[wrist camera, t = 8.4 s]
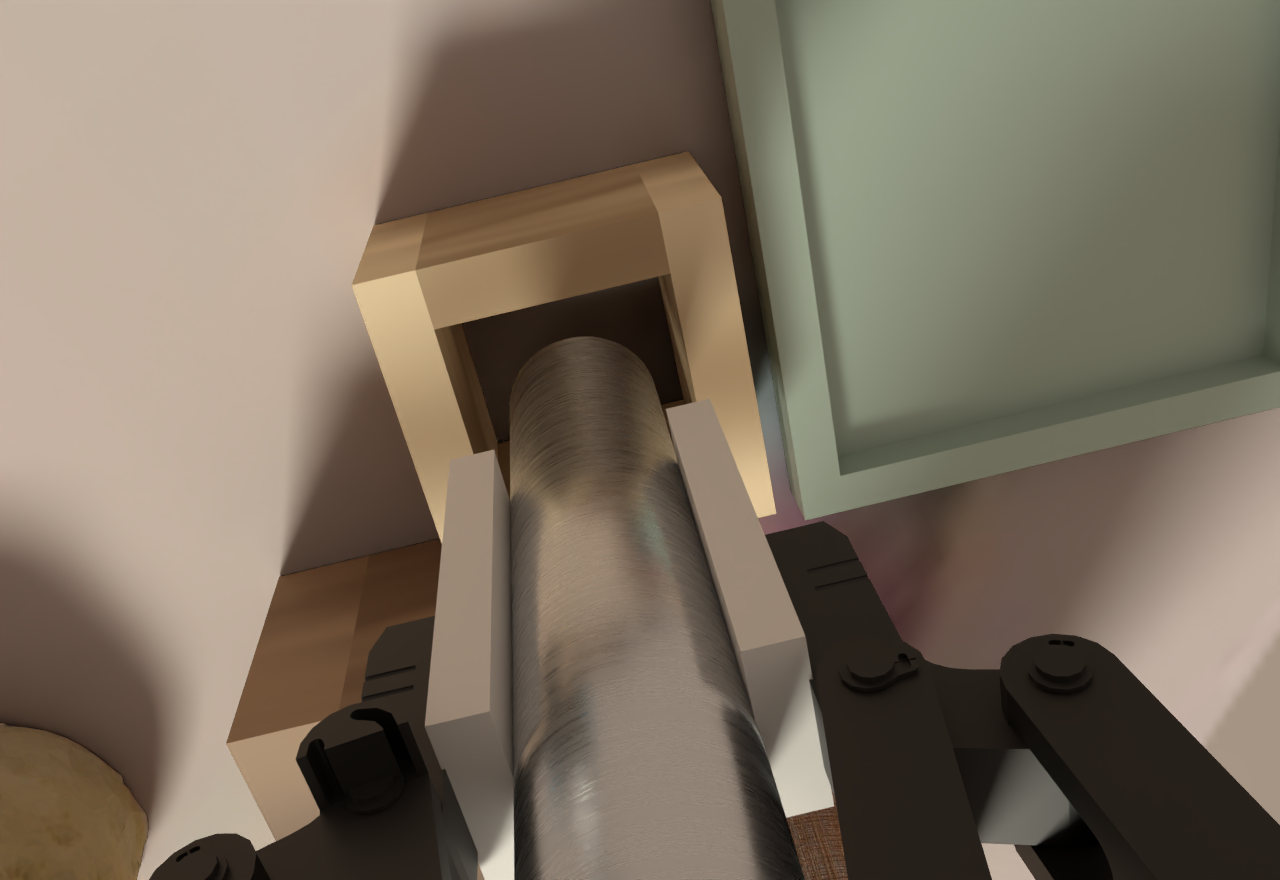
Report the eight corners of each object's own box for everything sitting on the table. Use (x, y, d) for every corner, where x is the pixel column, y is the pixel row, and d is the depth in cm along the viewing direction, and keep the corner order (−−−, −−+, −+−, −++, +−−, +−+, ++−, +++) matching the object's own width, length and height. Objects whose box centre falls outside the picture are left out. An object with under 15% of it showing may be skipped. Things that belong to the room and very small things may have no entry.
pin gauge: (492, 355, 22) (476, 992, 9) (641, 321, 22) (827, 909, 9) (530, 484, 23) (561, 1192, 10) (669, 451, 23) (865, 1117, 11)
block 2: (373, 225, 24) (351, 285, 20) (688, 151, 24) (721, 197, 20) (463, 496, 27) (457, 589, 23) (739, 431, 27) (775, 513, 23)
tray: (700, -58, 22) (714, -54, 21) (1330, -205, 22) (1383, -211, 21) (790, 490, 28) (804, 520, 27) (1284, 372, 28) (1323, 396, 27)
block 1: (279, 576, 27) (226, 743, 22) (552, 511, 27) (564, 662, 22) (368, 778, 31) (340, 966, 25) (611, 720, 31) (635, 895, 25)
